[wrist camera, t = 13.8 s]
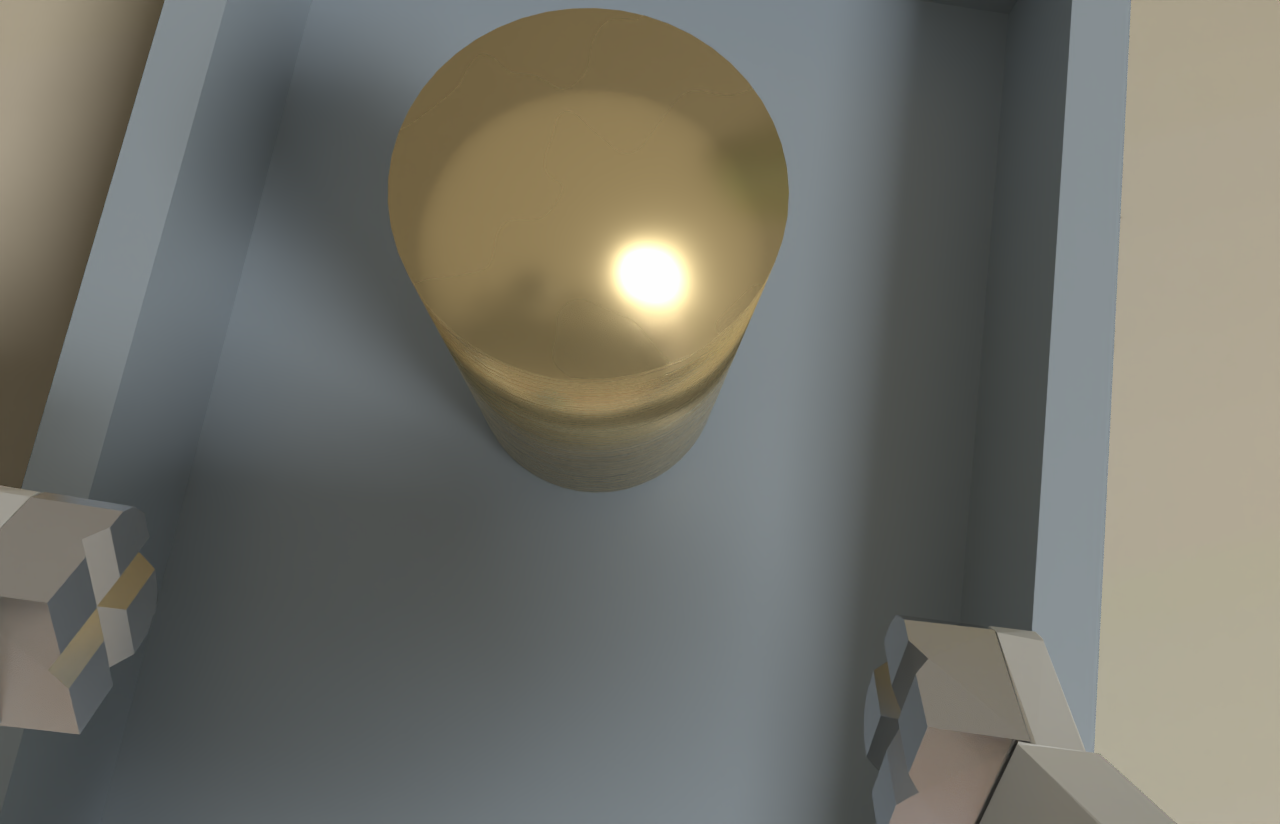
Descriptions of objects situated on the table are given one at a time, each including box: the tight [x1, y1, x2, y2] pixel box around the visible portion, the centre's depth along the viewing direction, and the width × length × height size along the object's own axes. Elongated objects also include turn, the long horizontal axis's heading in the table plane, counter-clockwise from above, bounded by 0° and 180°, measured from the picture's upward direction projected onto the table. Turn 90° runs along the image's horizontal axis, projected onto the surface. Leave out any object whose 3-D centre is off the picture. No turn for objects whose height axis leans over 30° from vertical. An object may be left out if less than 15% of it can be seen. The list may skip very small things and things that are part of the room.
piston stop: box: [388, 8, 789, 493], centre depth 15 cm, size 4×4×8 cm
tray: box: [0, 0, 1131, 824], centre depth 18 cm, size 22×16×4 cm
